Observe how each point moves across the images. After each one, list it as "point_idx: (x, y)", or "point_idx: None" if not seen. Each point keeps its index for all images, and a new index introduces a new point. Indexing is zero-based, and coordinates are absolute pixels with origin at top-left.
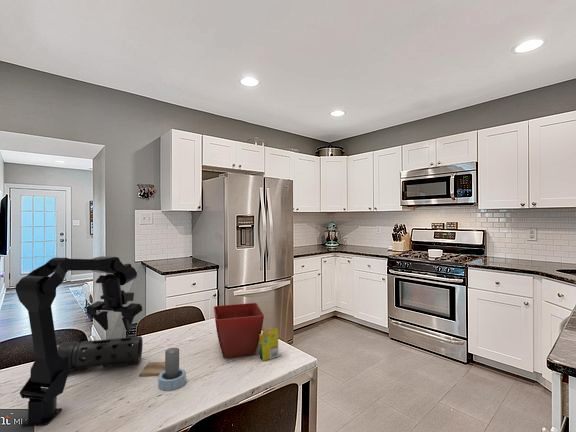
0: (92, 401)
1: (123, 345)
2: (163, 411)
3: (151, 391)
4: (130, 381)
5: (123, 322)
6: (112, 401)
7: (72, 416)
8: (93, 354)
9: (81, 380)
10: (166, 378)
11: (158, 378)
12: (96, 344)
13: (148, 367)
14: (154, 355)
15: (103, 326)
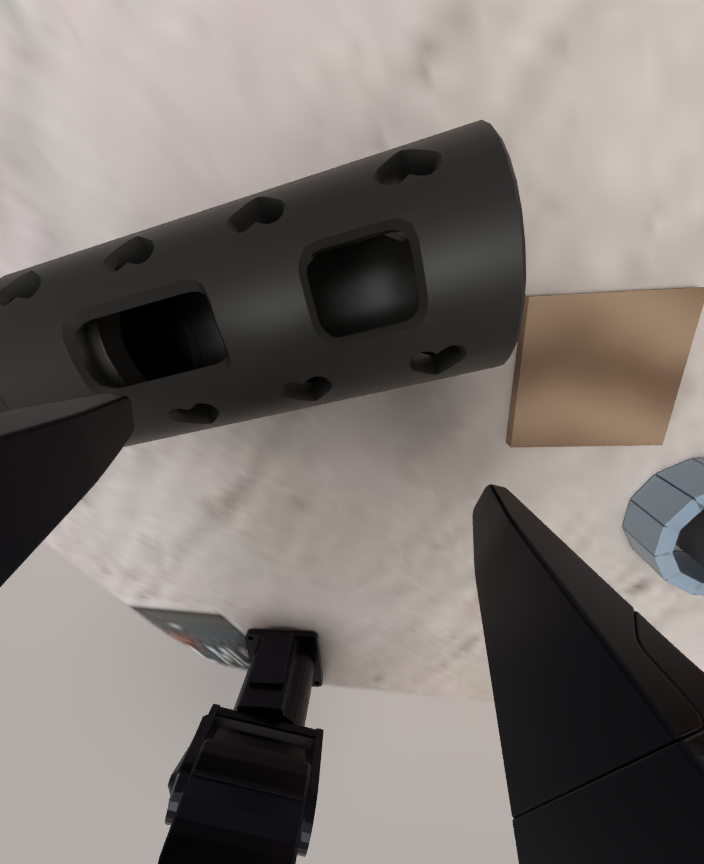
0: (386, 598)
1: (380, 375)
2: None
3: (598, 562)
4: (477, 482)
5: (521, 816)
6: (460, 605)
7: (369, 656)
8: (196, 430)
9: (239, 459)
10: (696, 561)
11: (653, 560)
12: (147, 402)
13: (544, 372)
14: (530, 128)
15: (72, 506)
